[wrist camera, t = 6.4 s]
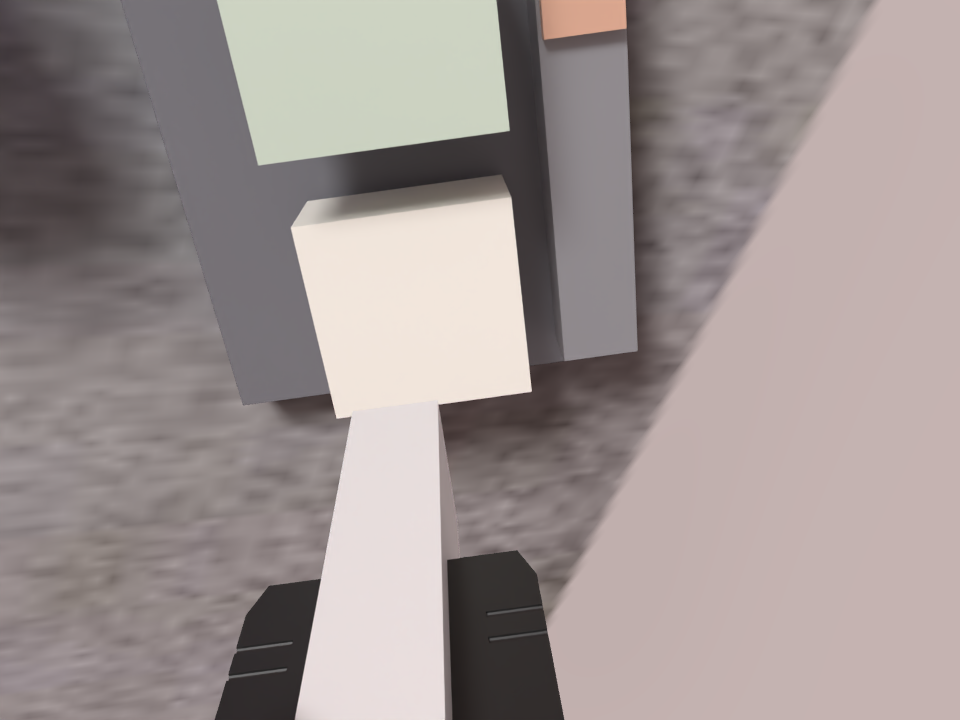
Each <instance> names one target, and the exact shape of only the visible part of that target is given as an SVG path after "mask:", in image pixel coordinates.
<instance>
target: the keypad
mask: <svg viewBox="0 0 960 720" xmlns="http://www.w3.org/2000/svg"><path fill="white" fill-rule="evenodd" d="M496 2H497V11H498V21H499V31H500V41H501V50H502V60H503V70H504V80H505V89H506V99H507V109H508V119H509V128H510V131H505V132H498V133H491V134H483V135H476V136H469V137H462V138H454V139H447V140H440V141H433V142H425V143H418V144H411V145H404V146H396V147H389V148H382V149H374V150H367V151H360V152H353V153H345V154H338V155H331V156H324V157H316V158H309V159H302V160H295V161H287V162H280V163H273V164H266V165H258V162H257V158H256V154H255V150H254V146H253V142H252V138H251V134H250V130H249V126H248V122H247V118H246V115H245V111H244V107H243V103H242V99H241V95H240V91H239V87H238V83H237V79H236V75H235V71H234V67H233V63H232V59H231V55H230V51H229V47H228V43H227V39H226V35H225V31H224V27H223V23H222V19H221V15H220V11H219V7H218V3H217V0H121V3H122V6H123V9H124V13H125V16H126V19H127V23H128V26H129V29H130V33H131V36H132V39H133V43H134V46H135V49H136V53H137V56H138V59H139V62H140V66H141V69H142V72H143V76H144V79H145V82H146V86H147V89H148V92H149V96H150V99H151V102H152V105H153V109H154V112H155V115H156V119H157V122H158V125H159V129H160V132H161V135H162V139H163V142H164V145H165V149H166V152H167V155H168V158H169V162H170V165H171V168H172V172H173V175H174V178H175V182H176V185H177V188H178V192H179V195H180V198H181V201H182V205H183V208H184V211H185V215H186V218H187V221H188V225H189V228H190V231H191V235H192V238H193V241H194V245H195V248H196V251H197V254H198V258H199V261H200V264H201V268H202V271H203V274H204V278H205V281H206V284H207V288H208V291H209V294H210V297H211V301H212V304H213V307H214V311H215V314H216V317H217V321H218V324H219V327H220V331H221V334H222V337H223V340H224V344H225V347H226V350H227V354H228V357H229V360H230V364H231V367H232V370H233V374H234V377H235V380H236V384H237V387H238V390H239V393H240V397H241V400H242V403H243V405H249V404H257V403H264V402H271V401H278V400H286V399H293V398H300V397H307V396H315V395H322V394H329V393H330V389H329V385H328V380H327V376H326V372H325V368H324V364H323V360H322V356H321V351H320V347H319V343H318V339H317V335H316V331H315V327H314V322H313V318H312V314H311V310H310V306H309V302H308V297H307V293H306V289H305V285H304V281H303V277H302V273H301V268H300V264H299V260H298V256H297V252H296V248H295V244H294V239H293V235H292V231H291V226H292V225H293V223H294V221H295V220H296V218H297V217H298V215H299V214H300V212H301V210H302V209H303V207H304V206H305V204H306V202H307V201H312V200H319V199H327V198H334V197H341V196H349V195H356V194H363V193H370V192H378V191H385V190H392V189H399V188H407V187H414V186H421V185H428V184H436V183H443V182H450V181H457V180H465V179H472V178H479V177H486V176H494V175H501V174H502V177H503V179H504V181H505V184H506V186H507V188H508V191H509V193H510V195H511V199H512V209H513V218H514V228H515V237H516V247H517V256H518V266H519V275H520V285H521V294H522V304H523V313H524V322H525V332H526V341H527V351H528V360H529V366H532V365H539V364H546V363H554V362H561V361H569V360H577V359H584V358H591V357H598V356H606V355H613V354H620V353H627V352H635V351H638V347H637V318H636V288H635V258H634V229H633V199H632V169H631V140H630V110H629V80H628V51H627V21H626V0H496Z"/></svg>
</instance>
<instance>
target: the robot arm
mask: <svg viewBox="0 0 960 720" xmlns="http://www.w3.org/2000/svg"><path fill="white" fill-rule="evenodd" d="M215 720H564V716H563V711H562V705H561V700H560V695H559V691H558V684H557V679H556V674H555V669H554V663H553V658H552V653H551V648H550V642H549V638H548V633H547V626H546V621H545V616H544V611H543V606H542V600H541V595H540V590H539V584H538V579H537V574H536V573H535V571H534V570H533V569H532V568H531V567H530V565H529V564H528V563H527V562H526V561H525V559H524V558H523V557H522V556H521V555H520V553H519V552H518V551H509V552H502V553H494V554H487V555H479V556H472V557H464V558H460V553H459V535H458V522H457V516H456V510H455V503H454V497H453V491H452V485H451V479H450V472H449V466H448V460H447V454H446V448H445V441H444V435H443V429H442V423H441V417H440V411H439V404H438V400H434V401H427V402H419V403H412V404H404V405H397V406H389V407H382V408H374V409H367V410H359V411H353V412H352V418H351V423H350V428H349V434H348V439H347V444H346V449H345V455H344V460H343V465H342V471H341V476H340V481H339V487H338V492H337V497H336V503H335V508H334V513H333V519H332V524H331V529H330V535H329V540H328V545H327V551H326V556H325V561H324V567H323V572H322V577H321V579H318V580H310V581H303V582H295V583H288V584H280V585H273V586H269V587H268V588H267V589H266V590H265V592H264V593H263V594H262V596H261V597H260V598H259V599H258V601H257V602H256V603H255V605H254V606H253V607H252V608H251V610H250V611H249V612H248V614H247V615H246V617H245V621H244V624H243V627H242V631H241V634H240V637H239V641H238V644H237V654H234V657H233V661H232V664H231V667H230V671H229V681H226V684H225V687H224V691H223V694H222V697H221V701H220V704H219V707H218V711H217V714H216V717H215Z"/></svg>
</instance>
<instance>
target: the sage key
mask: <svg viewBox="0 0 960 720" xmlns="http://www.w3.org/2000/svg"><path fill="white" fill-rule="evenodd" d="M217 3H218V7H219V11H220V15H221V19H222V23H223V27H224V31H225V35H226V39H227V43H228V47H229V51H230V55H231V59H232V63H233V67H234V71H235V75H236V79H237V83H238V87H239V91H240V95H241V99H242V103H243V107H244V111H245V115H246V118H247V122H248V126H249V130H250V134H251V138H252V142H253V146H254V150H255V154H256V158H257V162H258V165H266V164H273V163H280V162H287V161H295V160H302V159H309V158H316V157H324V156H331V155H338V154H345V153H353V152H360V151H367V150H374V149H382V148H389V147H396V146H404V145H411V144H418V143H425V142H433V141H440V140H447V139H454V138H462V137H469V136H476V135H483V134H491V133H498V132H505V131H510V128H509V119H508V109H507V99H506V89H505V80H504V70H503V60H502V50H501V41H500V31H499V21H498V11H497V2H496V0H217Z"/></svg>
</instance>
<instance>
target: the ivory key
mask: <svg viewBox="0 0 960 720" xmlns="http://www.w3.org/2000/svg"><path fill="white" fill-rule="evenodd" d="M291 231H292V235H293V239H294V244H295V248H296V252H297V256H298V260H299V264H300V268H301V273H302V277H303V281H304V285H305V289H306V293H307V297H308V302H309V306H310V310H311V314H312V318H313V322H314V327H315V331H316V335H317V339H318V343H319V347H320V351H321V356H322V360H323V364H324V368H325V372H326V376H327V380H328V385H329V389H330V393H331V397H332V401H333V405H334V410H335V414H336V418H337V419H338V418H345V417H352V412H353V411H359V410H367V409H374V408H382V407H389V406H397V405H404V404H412V403H419V402H427V401H434V400H438V404H446V403H454V402H461V401H468V400H475V399H483V398H490V397H497V396H504V395H512V394H519V393H526V392H532V389H531V379H530V370H529V360H528V351H527V341H526V332H525V322H524V313H523V304H522V294H521V285H520V275H519V266H518V256H517V247H516V237H515V228H514V218H513V209H512V199H511V195H510V193H509V191H508V188H507V186H506V184H505V181H504V179H503V177H502V174H501V175H494V176H486V177H479V178H472V179H465V180H457V181H450V182H443V183H436V184H428V185H421V186H414V187H407V188H399V189H392V190H385V191H378V192H370V193H363V194H356V195H349V196H341V197H334V198H327V199H319V200H312V201H307V202H306V204H305V206H304V207H303V209H302V210H301V212H300V214H299V215H298V217H297V218H296V220H295V221H294V223H293V225H292V226H291Z"/></svg>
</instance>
